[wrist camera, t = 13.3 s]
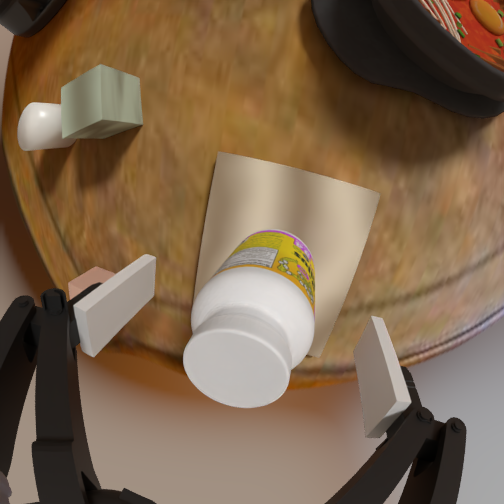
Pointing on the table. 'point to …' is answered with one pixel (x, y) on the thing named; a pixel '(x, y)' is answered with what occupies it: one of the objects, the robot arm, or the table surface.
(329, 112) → the table surface
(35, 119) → the white domed cylinder
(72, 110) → the sage block
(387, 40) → the casserole
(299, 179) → the birch board
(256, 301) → the supplement bottle
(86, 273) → the terracotta block
